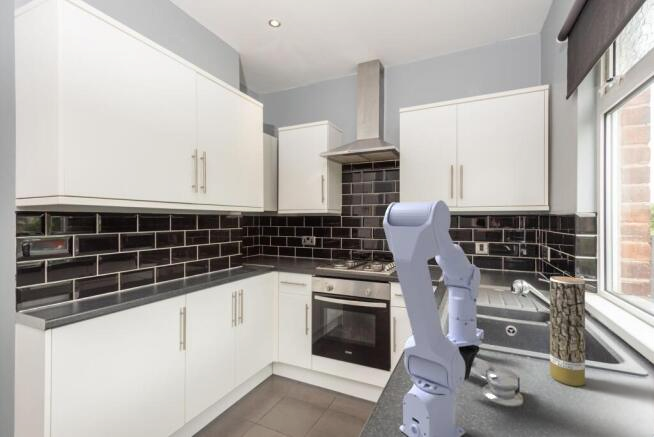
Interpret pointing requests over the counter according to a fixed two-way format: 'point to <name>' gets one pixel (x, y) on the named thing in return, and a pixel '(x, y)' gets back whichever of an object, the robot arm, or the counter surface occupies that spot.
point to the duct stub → (503, 396)
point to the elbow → (495, 375)
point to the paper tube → (567, 330)
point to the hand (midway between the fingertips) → (462, 376)
